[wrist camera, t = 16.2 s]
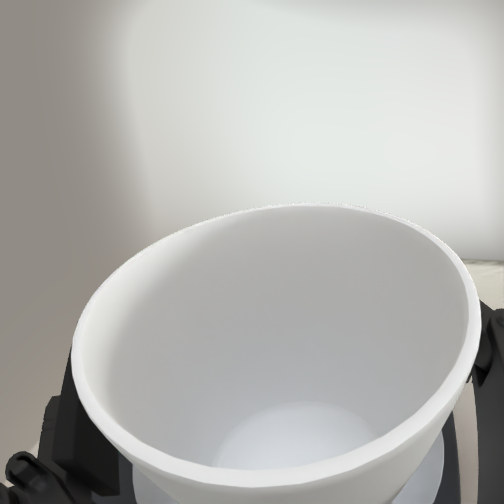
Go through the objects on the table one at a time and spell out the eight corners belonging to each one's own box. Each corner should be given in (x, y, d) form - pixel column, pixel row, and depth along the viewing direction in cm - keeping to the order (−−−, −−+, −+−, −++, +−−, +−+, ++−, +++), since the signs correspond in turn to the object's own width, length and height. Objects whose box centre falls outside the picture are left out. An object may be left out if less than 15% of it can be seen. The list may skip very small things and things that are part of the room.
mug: (162, 395, 16) (82, 229, 12) (289, 339, 19) (264, 169, 14) (255, 589, 6) (98, 576, 2) (431, 482, 9) (545, 282, 4)
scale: (63, 527, 10) (28, 508, 9) (165, 347, 25) (152, 317, 23) (435, 604, 4) (460, 605, 3) (429, 356, 19) (438, 322, 17)
